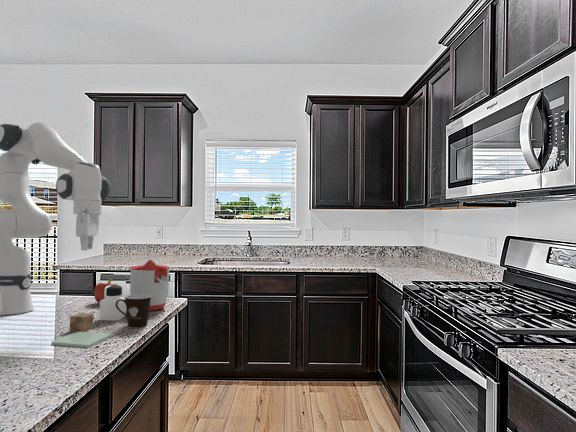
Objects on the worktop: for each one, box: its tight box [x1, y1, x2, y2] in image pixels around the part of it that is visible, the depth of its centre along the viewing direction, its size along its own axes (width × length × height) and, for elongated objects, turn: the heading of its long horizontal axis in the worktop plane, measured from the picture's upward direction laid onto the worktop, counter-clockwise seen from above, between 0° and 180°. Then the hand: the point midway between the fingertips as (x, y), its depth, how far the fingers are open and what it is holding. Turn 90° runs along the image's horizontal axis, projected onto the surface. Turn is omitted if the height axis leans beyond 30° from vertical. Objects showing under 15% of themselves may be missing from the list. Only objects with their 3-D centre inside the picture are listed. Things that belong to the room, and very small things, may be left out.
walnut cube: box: [69, 312, 94, 333], centre depth 150 cm, size 5×5×5 cm
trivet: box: [51, 331, 112, 349], centre depth 138 cm, size 12×12×1 cm
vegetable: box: [93, 278, 120, 304], centre depth 193 cm, size 11×10×10 cm
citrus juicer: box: [129, 259, 171, 312], centre depth 184 cm, size 16×17×20 cm
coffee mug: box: [116, 294, 151, 328], centre depth 158 cm, size 12×9×10 cm
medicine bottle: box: [99, 284, 126, 322], centre depth 166 cm, size 7×7×12 cm
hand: (87, 249), depth 155 cm, fingers open, 8 cm apart
